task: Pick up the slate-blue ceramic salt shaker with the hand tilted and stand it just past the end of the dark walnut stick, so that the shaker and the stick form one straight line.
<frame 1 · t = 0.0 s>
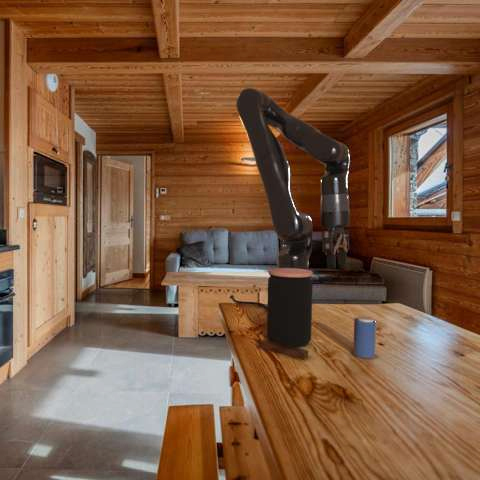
hand: (337, 266, 111), 17 cm above the table, tool pointing down, fingers open, 8 cm apart
walnut stick: (282, 352, 90), on the table
salt shaker: (363, 354, 88), on the table
coffee jar: (288, 341, 98), on the table
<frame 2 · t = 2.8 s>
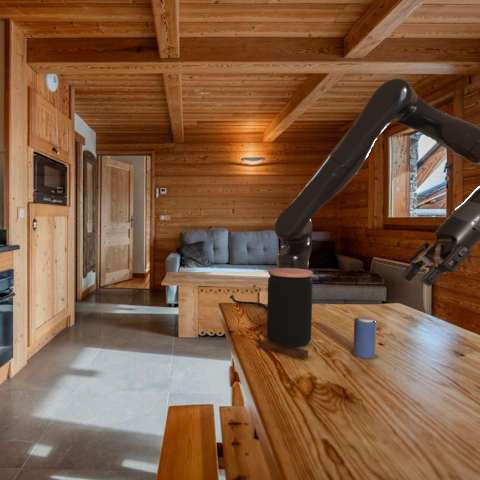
hand: (414, 280, 88), 17 cm above the table, tool tilted 40°, fingers open, 8 cm apart
nothing on the table moved.
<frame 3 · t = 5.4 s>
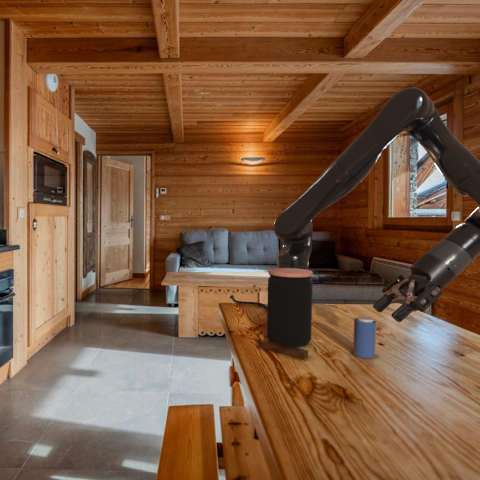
hand: (384, 314, 88), 10 cm above the table, tool tilted 45°, fingers open, 8 cm apart
nothing on the table moved.
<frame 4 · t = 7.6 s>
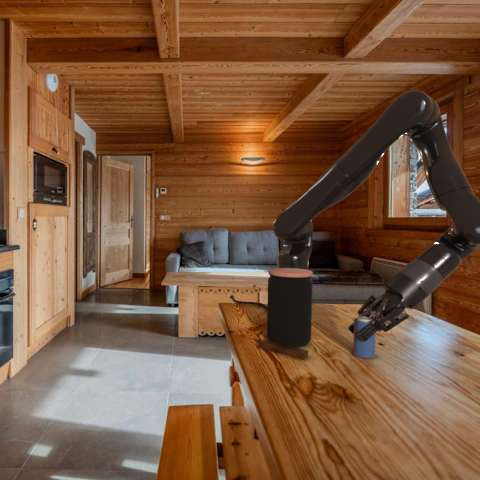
hand: (355, 334, 88), 5 cm above the table, tool tilted 45°, fingers closed on salt shaker, 4 cm apart
salt shaker: (363, 354, 88), on the table, touching gripper
everything else where it was.
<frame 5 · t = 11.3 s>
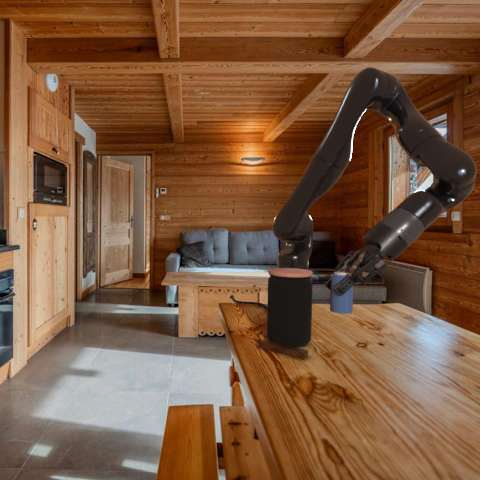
hand: (332, 290, 83), 16 cm above the table, tool tilted 45°, fingers closed on salt shaker, 4 cm apart
salt shaker: (341, 311, 83), point 11 cm above the table, touching gripper
everything else where it was.
when the fingers open (5 cm above the table, at t = 15.0 s): salt shaker stays where it is, on the table.
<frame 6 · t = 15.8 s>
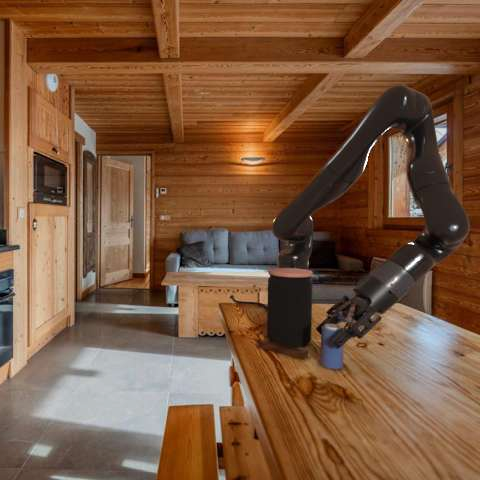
hand: (325, 338, 82), 6 cm above the table, tool tilted 45°, fingers open, 8 cm apart
salt shaker: (331, 365, 82), on the table
everything else where it was.
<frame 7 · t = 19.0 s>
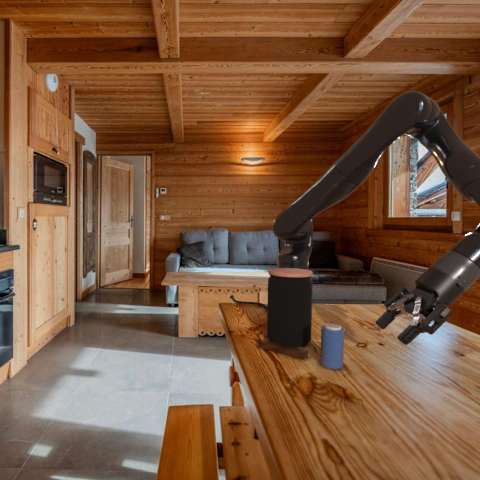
hand: (389, 333, 82), 7 cm above the table, tool tilted 40°, fingers open, 8 cm apart
nothing on the table moved.
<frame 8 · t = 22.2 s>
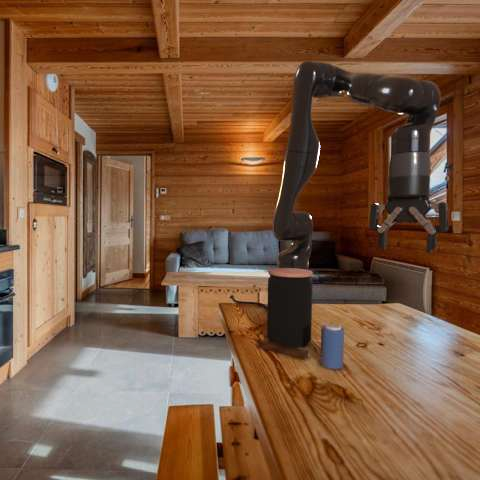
hand: (405, 251, 84), 24 cm above the table, tool pointing down, fingers open, 8 cm apart
nothing on the table moved.
at the end: salt shaker 0.1 cm from the target spot, on the table; salt shaker tilted 0°; walnut stick moved 0.0 cm from its start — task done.
